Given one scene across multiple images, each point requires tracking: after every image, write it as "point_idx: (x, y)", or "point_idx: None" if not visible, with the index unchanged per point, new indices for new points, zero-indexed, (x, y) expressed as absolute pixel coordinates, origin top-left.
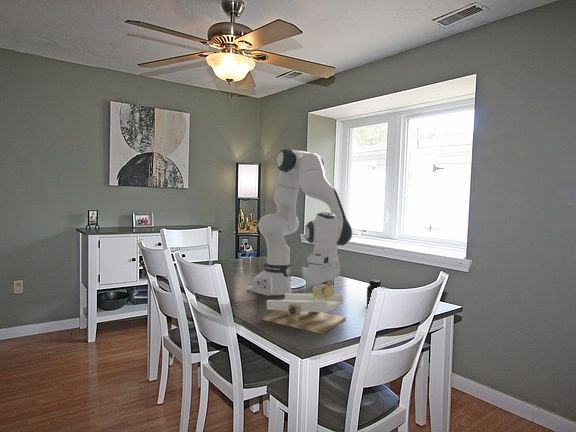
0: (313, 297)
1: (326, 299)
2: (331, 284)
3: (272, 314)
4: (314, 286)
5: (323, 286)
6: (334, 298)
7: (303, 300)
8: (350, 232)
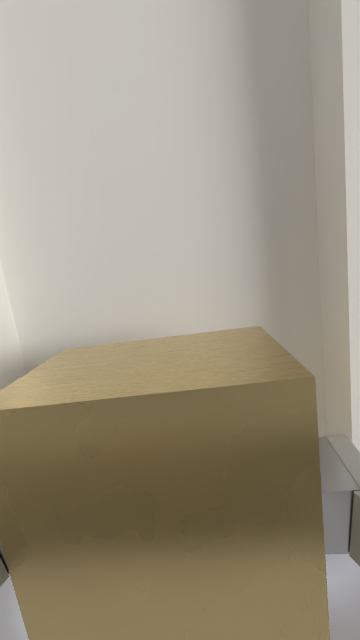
0: (62, 353)
1: (323, 324)
2: (315, 634)
3: None
4: (51, 410)
5: (98, 588)
6: (332, 416)
7: (233, 67)
8: None
